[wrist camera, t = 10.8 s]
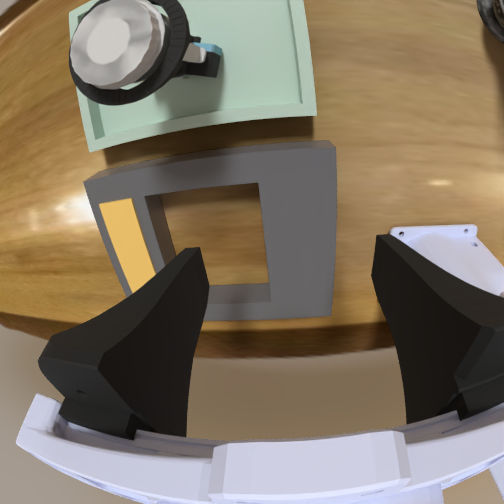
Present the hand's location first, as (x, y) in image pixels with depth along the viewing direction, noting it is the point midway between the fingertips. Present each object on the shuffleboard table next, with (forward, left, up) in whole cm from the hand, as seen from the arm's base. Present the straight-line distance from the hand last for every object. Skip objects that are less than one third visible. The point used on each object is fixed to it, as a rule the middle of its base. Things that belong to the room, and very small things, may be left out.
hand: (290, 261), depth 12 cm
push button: (+6, -10, -10) cm, 15 cm away
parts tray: (+6, -11, -10) cm, 16 cm away
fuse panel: (+6, +4, -10) cm, 13 cm away
